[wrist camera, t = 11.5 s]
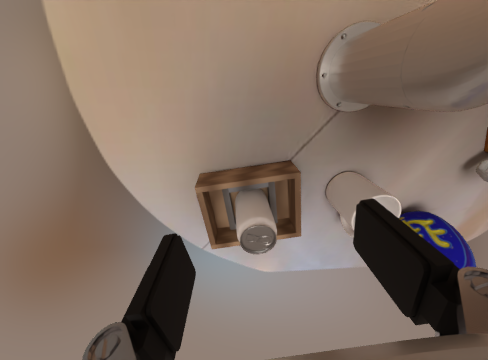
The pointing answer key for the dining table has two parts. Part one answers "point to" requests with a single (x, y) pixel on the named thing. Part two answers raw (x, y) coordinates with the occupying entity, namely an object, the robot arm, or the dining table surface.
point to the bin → (247, 178)
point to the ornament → (440, 237)
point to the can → (255, 222)
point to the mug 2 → (484, 163)
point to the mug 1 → (356, 197)
